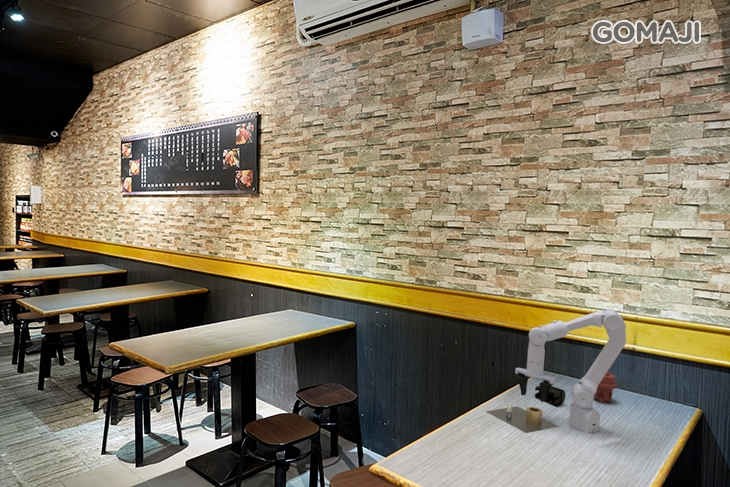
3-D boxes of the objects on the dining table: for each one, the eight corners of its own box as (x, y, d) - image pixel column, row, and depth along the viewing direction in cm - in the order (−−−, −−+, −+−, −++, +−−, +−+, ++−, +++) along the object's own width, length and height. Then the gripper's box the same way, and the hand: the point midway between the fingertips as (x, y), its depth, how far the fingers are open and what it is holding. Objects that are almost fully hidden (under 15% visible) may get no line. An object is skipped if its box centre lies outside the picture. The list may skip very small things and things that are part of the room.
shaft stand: (559, 430, 169) (560, 415, 169) (525, 437, 162) (527, 421, 162) (516, 410, 187) (517, 396, 187) (484, 415, 179) (486, 400, 179)
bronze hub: (544, 422, 172) (545, 411, 172) (534, 424, 169) (534, 413, 169) (533, 417, 177) (534, 406, 176) (522, 418, 174) (523, 408, 174)
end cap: (565, 405, 196) (566, 388, 196) (556, 408, 192) (557, 391, 192) (542, 397, 204) (543, 381, 204) (533, 400, 199) (534, 384, 199)
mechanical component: (604, 406, 198) (584, 397, 207) (620, 403, 202) (600, 395, 211) (606, 376, 197) (586, 369, 206) (623, 374, 202) (602, 367, 211)
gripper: (560, 364, 173) (557, 401, 173) (523, 354, 184) (521, 390, 184) (550, 367, 168) (547, 405, 169) (513, 357, 179) (510, 393, 180)
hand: (533, 397), depth 176 cm, fingers open, 7 cm apart
